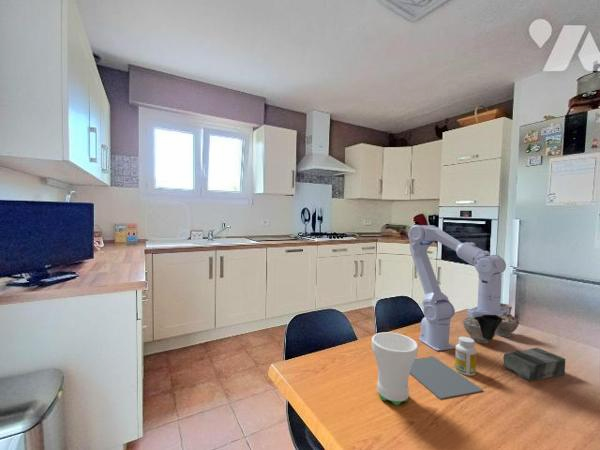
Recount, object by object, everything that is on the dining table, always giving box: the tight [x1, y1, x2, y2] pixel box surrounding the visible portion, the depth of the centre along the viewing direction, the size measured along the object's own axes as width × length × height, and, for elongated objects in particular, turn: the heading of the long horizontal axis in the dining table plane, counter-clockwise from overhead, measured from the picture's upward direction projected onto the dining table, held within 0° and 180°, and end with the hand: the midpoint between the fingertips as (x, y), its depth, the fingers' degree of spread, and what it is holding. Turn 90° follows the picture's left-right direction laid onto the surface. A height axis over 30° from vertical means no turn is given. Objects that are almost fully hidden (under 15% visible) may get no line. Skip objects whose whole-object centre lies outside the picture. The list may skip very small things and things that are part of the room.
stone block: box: [502, 347, 566, 382], centre depth 84 cm, size 9×14×5 cm, turn 105°
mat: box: [409, 356, 484, 400], centre depth 80 cm, size 18×14×1 cm
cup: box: [371, 331, 419, 406], centre depth 70 cm, size 11×11×14 cm
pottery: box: [462, 302, 520, 344], centre depth 107 cm, size 11×25×12 cm, turn 115°
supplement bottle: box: [454, 336, 477, 377], centre depth 82 cm, size 5×5×10 cm
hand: (487, 338), depth 84 cm, fingers closed
